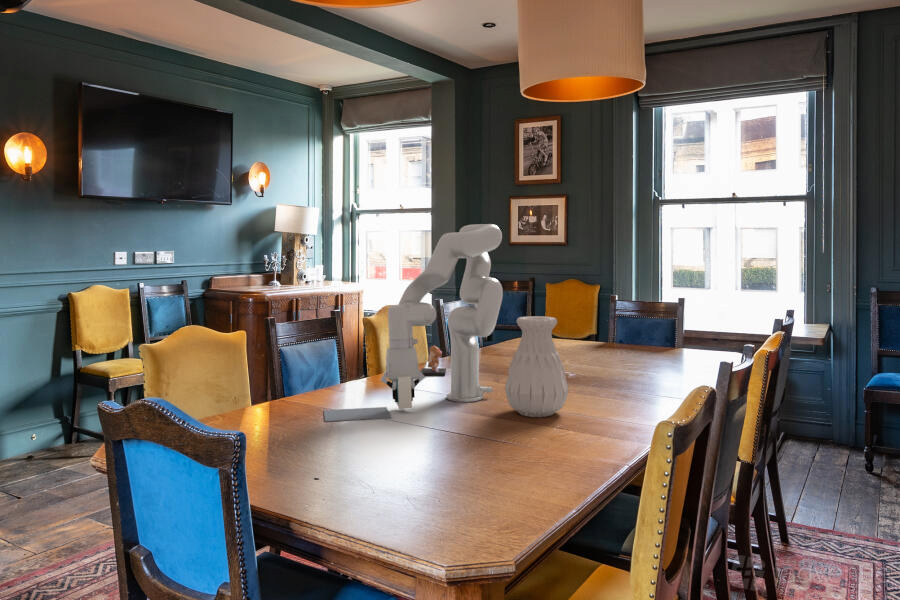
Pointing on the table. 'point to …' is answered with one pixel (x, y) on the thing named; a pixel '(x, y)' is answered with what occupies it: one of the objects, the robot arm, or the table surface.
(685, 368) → the table surface
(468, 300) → the robot arm
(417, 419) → the table surface
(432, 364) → the figurine
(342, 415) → the slate mat
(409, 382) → the cream block
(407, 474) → the table surface
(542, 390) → the vase
